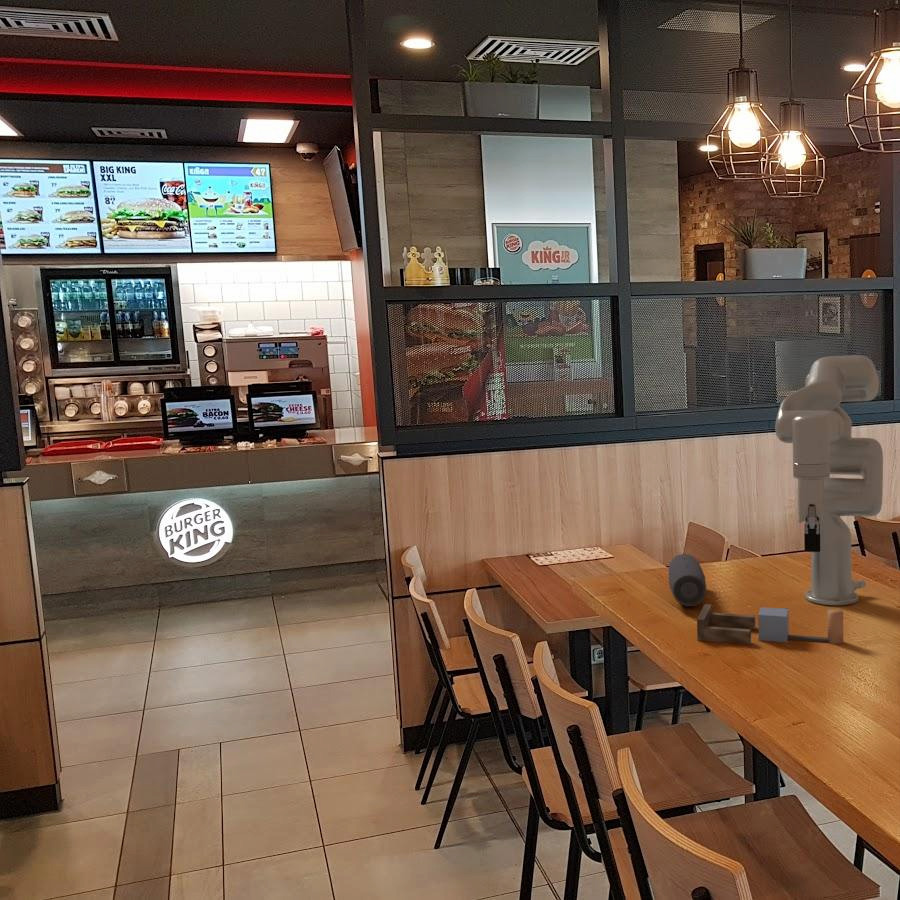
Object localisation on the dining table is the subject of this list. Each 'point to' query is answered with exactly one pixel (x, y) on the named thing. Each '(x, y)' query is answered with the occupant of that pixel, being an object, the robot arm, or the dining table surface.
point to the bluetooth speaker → (687, 580)
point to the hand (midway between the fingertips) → (812, 546)
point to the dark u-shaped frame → (724, 626)
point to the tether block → (777, 626)
